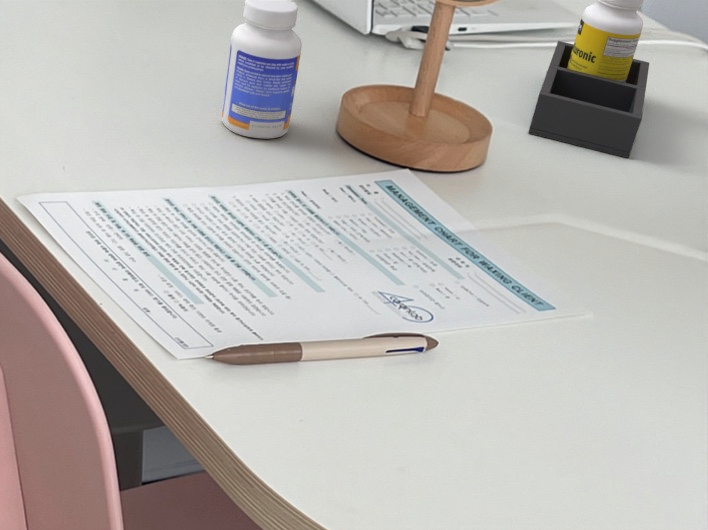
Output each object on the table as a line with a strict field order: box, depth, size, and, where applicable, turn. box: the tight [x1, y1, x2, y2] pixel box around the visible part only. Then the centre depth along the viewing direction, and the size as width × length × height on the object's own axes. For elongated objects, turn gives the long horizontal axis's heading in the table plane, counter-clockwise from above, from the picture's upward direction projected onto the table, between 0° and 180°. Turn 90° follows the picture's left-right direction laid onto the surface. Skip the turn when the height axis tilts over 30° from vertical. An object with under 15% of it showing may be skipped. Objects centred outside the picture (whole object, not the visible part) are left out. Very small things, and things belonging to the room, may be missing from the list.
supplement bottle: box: [567, 0, 644, 83], centre depth 117 cm, size 5×5×10 cm
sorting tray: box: [527, 40, 650, 159], centre depth 116 cm, size 16×9×4 cm, turn 164°
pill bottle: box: [221, 0, 303, 140], centre depth 100 cm, size 5×5×10 cm
